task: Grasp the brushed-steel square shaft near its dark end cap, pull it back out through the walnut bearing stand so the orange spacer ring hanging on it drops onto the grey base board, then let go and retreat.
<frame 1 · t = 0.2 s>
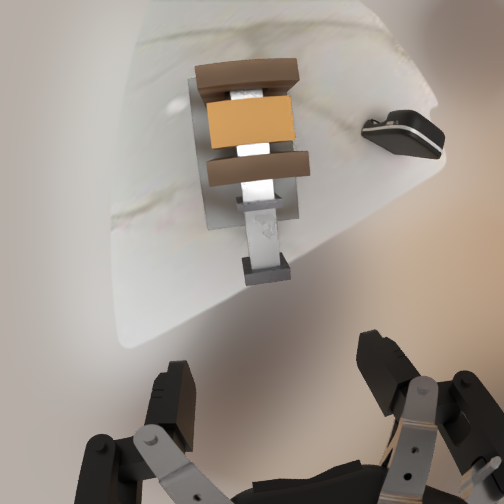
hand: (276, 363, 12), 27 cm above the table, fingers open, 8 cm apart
shaft: (254, 170, 25), point 10 cm above the table, slide at 0.0 cm, touching spacer
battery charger: (381, 134, 34), on the table
spacer: (245, 128, 28), point 6 cm above the table, touching shaft
bearing stand: (242, 132, 33), on the table
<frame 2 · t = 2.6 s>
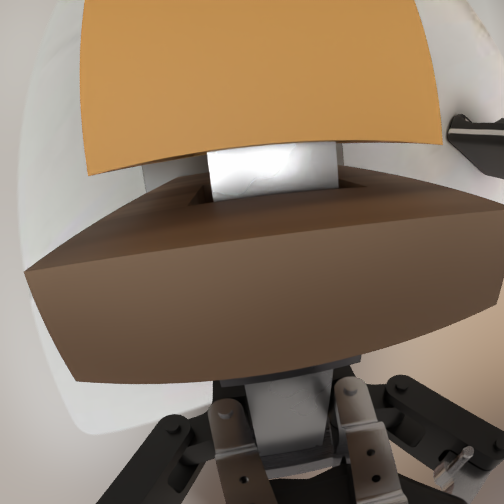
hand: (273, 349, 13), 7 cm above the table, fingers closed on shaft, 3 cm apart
shaft: (273, 237, 8), point 10 cm above the table, slide at 0.0 cm, touching gripper, spacer
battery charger: (469, 140, 17), on the table
spacer: (245, 103, 10), point 6 cm above the table, touching shaft
bearing stand: (238, 119, 15), on the table
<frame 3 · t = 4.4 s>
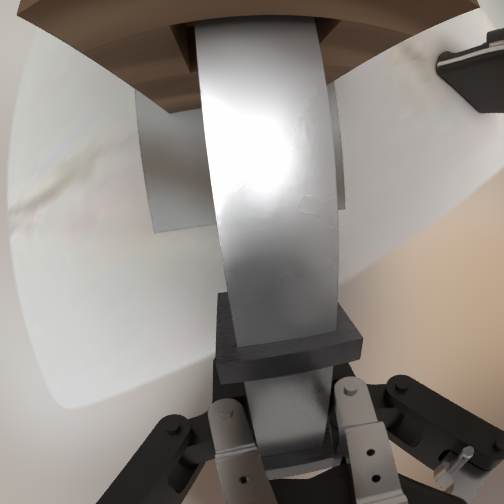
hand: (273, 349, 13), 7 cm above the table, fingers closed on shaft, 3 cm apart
shaft: (272, 234, 8), point 10 cm above the table, slide at 6.0 cm, touching gripper, spacer
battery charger: (459, 79, 15), on the table
bearing stand: (229, 39, 14), on the table
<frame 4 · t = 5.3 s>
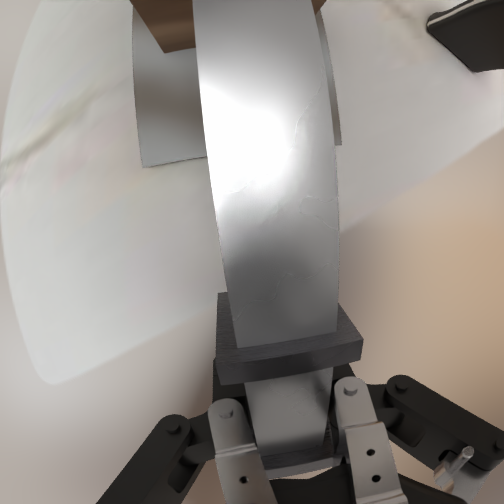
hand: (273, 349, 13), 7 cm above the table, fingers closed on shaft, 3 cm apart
shaft: (273, 235, 8), point 10 cm above the table, slide at 10.0 cm, touching gripper
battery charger: (451, 40, 14), on the table
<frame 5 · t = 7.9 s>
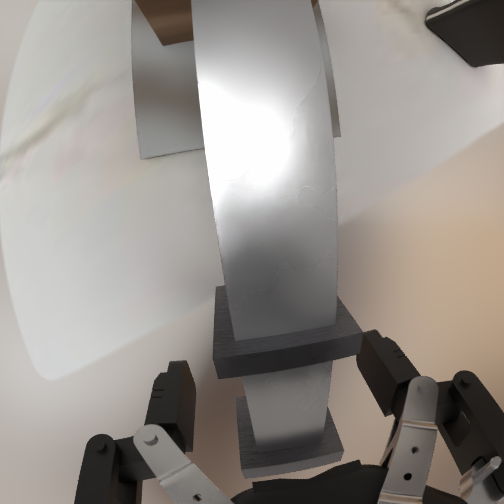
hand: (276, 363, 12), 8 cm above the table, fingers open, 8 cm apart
shaft: (271, 226, 8), point 10 cm above the table, slide at 10.2 cm
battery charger: (450, 35, 13), on the table
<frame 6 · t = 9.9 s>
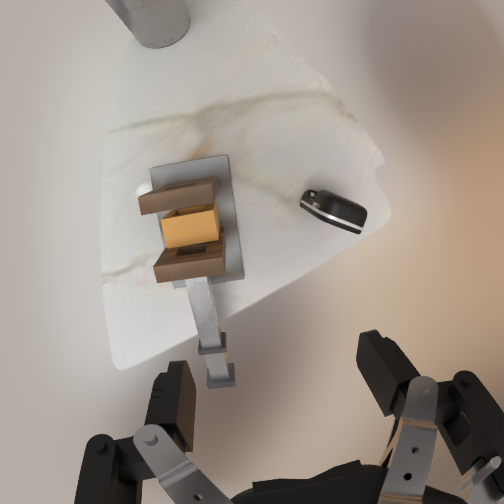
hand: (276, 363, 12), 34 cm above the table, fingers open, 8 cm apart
shaft: (208, 327, 38), point 10 cm above the table, slide at 10.2 cm
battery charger: (320, 201, 44), on the table
spacer: (195, 218, 42), point 1 cm above the table, touching bearing stand
bearing stand: (196, 211, 43), on the table
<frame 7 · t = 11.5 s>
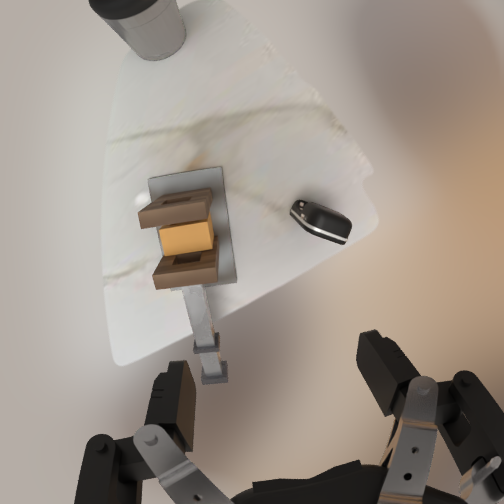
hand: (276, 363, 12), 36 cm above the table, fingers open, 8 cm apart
shaft: (203, 328, 41), point 10 cm above the table, slide at 10.2 cm
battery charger: (309, 210, 47), on the table
spacer: (191, 226, 45), point 1 cm above the table, touching bearing stand
bearing stand: (191, 219, 45), on the table
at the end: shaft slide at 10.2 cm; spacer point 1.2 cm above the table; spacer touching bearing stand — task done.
